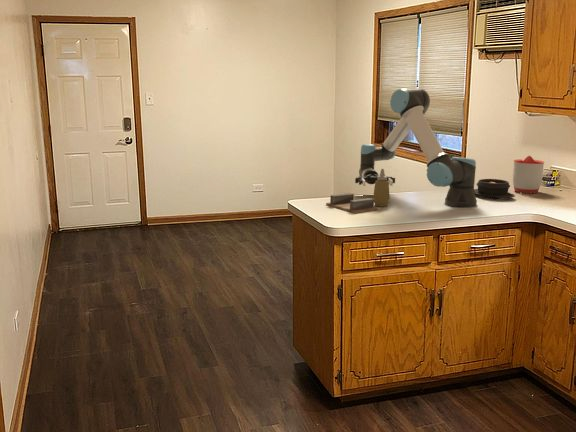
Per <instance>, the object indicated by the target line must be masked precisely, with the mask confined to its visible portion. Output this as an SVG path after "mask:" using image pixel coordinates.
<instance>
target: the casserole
mask: <svg viewBox="0 0 576 432" xmlns="http://www.w3.org/2000/svg"><path fill="white" fill-rule="evenodd" d="M476 186H477V188H474V192H475V195H479V196H480V197H482V198H486V199H493V200H494V199H495V200H496V199H512V198H515V197H516V195H515V194H513V193H511V192H509V189H510V187H511V185H510V182H509V181H508V180H505V179H500V178H499V179H497V178H483V179H478V181H477V183H476Z"/></svg>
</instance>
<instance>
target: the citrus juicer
mask: <svg viewBox="0 0 576 432" xmlns="http://www.w3.org/2000/svg"><path fill="white" fill-rule="evenodd" d="M544 163H545V162H544V161H543V160H537V159H534V158H533V157H532V156H531V155H527V157H525V158H524V159H514V160H513V170H512V184H513V189H514V191H515V192H517V193H519V194H536V193H538V192H539V190H540V188H541V185H542V182H543V174H544V165H545V164H544Z"/></svg>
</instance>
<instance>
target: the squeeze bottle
mask: <svg viewBox="0 0 576 432" xmlns="http://www.w3.org/2000/svg"><path fill="white" fill-rule="evenodd" d="M379 175H380V176H377V181H375V184H374V188H373V193H372V199H374V206H375V207H380V206H381V207H383V206H384V207H387V206H388V205H389V201H390V185H389V182H388V181H387V176H388V175H386V174H385V168H381V169H380V173H379ZM384 207H383V208H384Z"/></svg>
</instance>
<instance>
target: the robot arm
mask: <svg viewBox="0 0 576 432" xmlns="http://www.w3.org/2000/svg"><path fill="white" fill-rule="evenodd" d="M389 103H390V104H389V105H390V108H391V110H392V111H393V112H394V113H396V114H399V115H400V118H399V120H398V122H397V123H396V124H395V126H394V127H393V129H392V130H391V131H390V133H389V135H388V136H387V137H386V139H385V140H384V141H383V142H382V144H381V145H380V146H376V145H375V144H372V143H362V145H361V146H360V147H361V148H360V164H359V165H360V166H359V167H360V168H359V169H358V174H359V176H356V177H355V179H354V181H355V182H354V183H355V184H358V185H359V186H360V185H362V186H363V187H366V184H368V185H375V181H377V176H380V174H379V173H378V172H377V171H376V170H375V166H376V165H375V164H376V163H375V162H379V161H380V162H381V161H389V160H392V159H394V158H395V156H396V150H397V148H398V147H399V146H400V144H401V143H402V141H403V140H404V139H405V138H406V136H408V134H409V132H410V131H411V132H412V134H413V135H414V138H415V140H416V141H417V143H418V145H419V147H420V149H421V151H422V153H423V155H424V157H425V158H426V160H427V163H426V167H427V168H426V172H427V173H426V177H427V180H428V181H429V183H430V184H431V185H433V186H434V187H437V188H438V187H439V188H441V187H442V188H444V187H449V188H448V191H447V193H446V197H445V198H444V205H447V206H450V207H456V208H457V207H458V208H471V207H472V208H474V207H475V206H477V204H478V203H477V201H478V200H477V199H476V194H475V192H474V189H475V183H476V182H475V180H476V169H477V166H476V164H477V162H476V160H475V159H473V158H468V157H467V158H466V157H459V156H452V157H451V156H450V154H449V153H446V152H444V150H443V148H442V146H441V144H440V142H439V141H438V138H437V137H436V136H437V135H435V133H434V131H433V129H432V128H431V126H430V123H429V122H428V120H427V119H426V115H425V114H426V113H427V111H428V110H429V106H430V103H431V97H430V95H429V93H428V92H427V91H426V90H425V89H424V88H417V87H415V88H406V87H402V88H398V89H396V90H395V91H394V92H393V93H392V94H391V97H390V102H389ZM386 176H387V181H388V182H389V186H390V187H391V186H392V187H393V185H394V184H396V177H392V176H388V175H386Z"/></svg>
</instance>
